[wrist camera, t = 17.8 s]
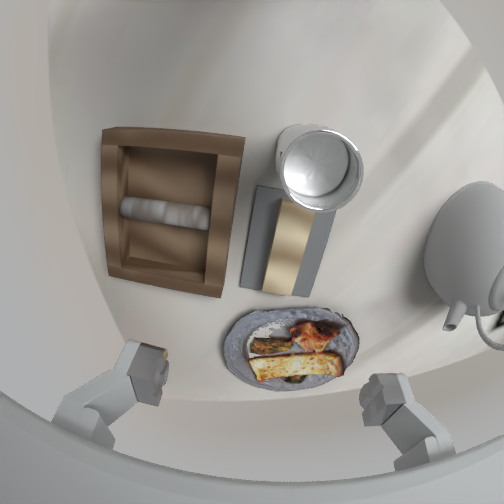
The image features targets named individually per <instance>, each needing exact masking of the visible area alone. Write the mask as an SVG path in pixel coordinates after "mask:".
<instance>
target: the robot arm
mask: <svg viewBox="0 0 504 504" xmlns="http://www.w3.org/2000/svg"><path fill="white" fill-rule="evenodd" d="M167 356H168V351H167V349H164V348H160V347H156V346H153V345H149V344H146V343H142V342H138V341H135V340H131V339H130V340H128V341H127V343H126V345H125V347H124V349H123V351H122V353H121V355H120V357H119V359H118V361H117V363H116V365H115V367H114V369H113V371H112V370H108V371H106V372H105V373H103V374H101V375H100V376H98V377H96V378H94V379H93V380H91V381H89V382H88V383H86V384H84V385H82V386H81V387H79V388H77V389H75V390H74V391H72V392H70V393H69V394H67V395H65V396H64V398H63V400H62V401H61V403H60V405H59V407H58V409H57V411H56V413H55V415H54V417H53V419H52V421H51V422H49V421H47V420H46V419H44V418H42V417H40V416H38V415H37V414H35V413H33V412H32V411H30V410H28V409H27V408H25V407H23V406H22V405H20V404H19V403H17V402H16V401H14V400H13V399H11V398H10V397H8V396H7V395H5V394H4V393H3V392H1V391H0V504H504V435H501V436H498V437H496V438H494V439H492V440H489V441H487V442H485V443H483V444H480V445H478V446H476V447H473V448H471V449H468V450H466V451H463V452H460V453H458V454H456V452H455V448H454V445H453V442H452V439H451V435H450V432H449V431H448V430H447V429H446V428H445V427H444V426H443V425H442V424H441V423H440V422H439V421H437V420H436V419H435V418H434V417H433V416H432V415H431V414H430V413H429V412H428V411H427V410H426V409H425V408H423V406H421V405H420V404H419V403H416V402H415V399H414V397H413V394H412V390H411V388H410V385H409V382H408V379H407V377H406V375H405V374H404V373H374V374H372V375H371V376H370V378H369V382H368V383H367V384H365V385H364V386H363V387H362V389H361V391H360V395H359V401H360V405H361V406H362V407H363V408H364V411H363V413H362V416H363V421H364V425H365V426H381V425H382V426H381V427H382V428H383V430H384V431H385V432H386V433H387V435H388V436H389V437H390V439H391V440H392V441H393V443H394V444H395V445H396V446H397V448H398V449H399V450H400V452H401V453H402V454H403V455H402V456H400V457H399V458H397V459H396V460H395V461H394V467H395V471H394V472H390V473H384V474H379V475H373V476H367V477H360V478H352V479H343V480H331V481H316V482H269V481H252V480H241V479H232V478H224V477H216V476H210V475H204V474H199V473H193V472H188V471H183V470H179V469H174V468H170V467H166V466H162V465H158V464H155V463H151V462H147V461H144V460H141V459H137V458H134V457H131V456H128V455H125V454H122V453H119V452H117V451H114V450H112V449H113V446H114V443H115V438H114V436H113V435H112V433H111V432H110V430H109V429H108V426H109V425H110V424H112V423H113V422H114V421H115V420H117V419H118V418H119V417H120V416H122V415H123V414H124V413H125V412H127V411H128V410H129V409H130V408H132V407H133V406H134V405H135V404H136V403H137V401H138V402H142V403H146V404H150V405H154V406H158V405H159V403H160V399H161V396H162V386H163V385H165V384H166V380H167V376H168V371H169V362H168V361H167V360H166V359H167Z"/></svg>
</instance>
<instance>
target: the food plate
mask: <svg viewBox="0 0 504 504" xmlns="http://www.w3.org/2000/svg"><path fill="white" fill-rule="evenodd" d="M342 316H343V314H342ZM284 318H285V319H289V320H285V319H284ZM294 318H297V319H294ZM278 319H283V320H282V321H280V320H278ZM277 320H278V321H280V322H283V323H284V324H285V326H282V325H283V324H282V323H280V322H278V321H277ZM289 321H290V323H288V322H289ZM273 322H275V323H276V324H279V323H280V324H281V326H280V327H281V329H274V328H269V329H270V331H274V332H273V333H271V334H273V335H269V337H270V338H256V337H254V338H255V339H254V341H253V342H251V346H250V347H251V349H252V350H251V352H250V353H255V354H259V355H262V356H257V357H255V356H254V358H249V354H248V349H247V342H248V339H250V336H252V335H253V332H254V331H256V330H259V329H258V328H260V327H262V328H263V327H267V326H268V325H269V324H267V323H270V324H271V323H273ZM275 323H274V324H275ZM287 323H288V325H287ZM271 325H272V324H271ZM270 331H269V332H270ZM265 333H266V332H265ZM255 334H256V333H255ZM279 338H280V339H279ZM358 348H359V336H358V333H357V332H356V330H355V329H354V327H353V326H352V323H351V322H350V320H348V319H347V318H346V317H341V315H339V313H337V312H335V313H333V312H331V310H330V309H328V308H317V307H314V308H291V309H290V308H289V309H287V310H277V309H276V310H273V311H269V312H267V311H265V312H262V311H261V310H257V311H254V312H252V313H250V314H249V315H246V316H244V317H242V318H241V319H240V320H239V321H237V322H236V324H235V326H234V327H233V328H232V330H231V332H230V333H229V335H228V336H227V337H226V340H225V344H224V349H223V350H224V356H225V359H226V362H227V366H228V368H229V370H230V371H231V372H233V373H234V374H235V375H236V376H237V377H238V378H239V379H241V380H242V381H243V382H245V383H247V384H249V385H252V386H254V387H257V388H263V389H267V390H269V391H270V390H284V391H292V390H302V389H305V388H307V389H308V388H314V387H317V386H320V385H323V384H325V383H327V382H329V381H330V380H332V379H333V378H336V377H341V376H342V375H344V372H345V369H346V368H347V367H348V366H350V364H351V363H352V362H353V359H354V358H355V356H356V353H357V351H358ZM295 349H296V350H295ZM276 353H278V354H276ZM265 354H269V355H265Z"/></svg>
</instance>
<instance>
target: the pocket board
mask: <svg viewBox="0 0 504 504" xmlns="http://www.w3.org/2000/svg"><path fill="white" fill-rule="evenodd" d="M245 138H246V137H240V136H232V135H225V134H217V133H209V132H199V131H189V130H177V129H163V128H144V127H114V128H109V129H104V130H102V149H101V190H102V213H103V228H104V239H105V249H106V258H107V266H108V273H109V276H112V277H117V278H121V279H126V280H130V281H135V282H139V283H144V284H149V285H153V286H158V287H163V288H168V289H173V290H178V291H183V292H188V293H194V294H199V295H204V296H210V297H216V298H221V294H222V290H223V286H224V281H225V274H226V266H227V259H228V251H229V244H230V237H231V230H232V223H233V216H234V209H235V202H236V195H237V189H238V182H239V176H240V169H241V163H242V157H243V150H244V144H245Z"/></svg>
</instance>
